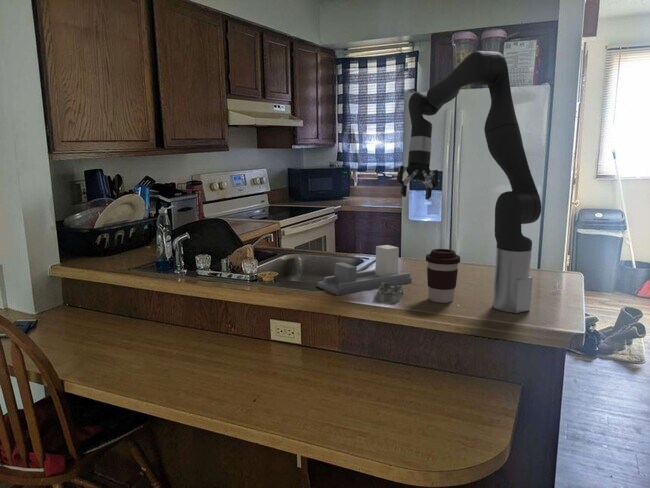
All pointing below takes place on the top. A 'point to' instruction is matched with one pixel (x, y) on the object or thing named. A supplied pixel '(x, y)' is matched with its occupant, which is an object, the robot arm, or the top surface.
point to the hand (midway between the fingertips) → (415, 198)
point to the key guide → (362, 282)
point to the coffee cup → (442, 274)
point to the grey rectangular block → (345, 272)
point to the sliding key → (386, 260)
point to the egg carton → (390, 292)
